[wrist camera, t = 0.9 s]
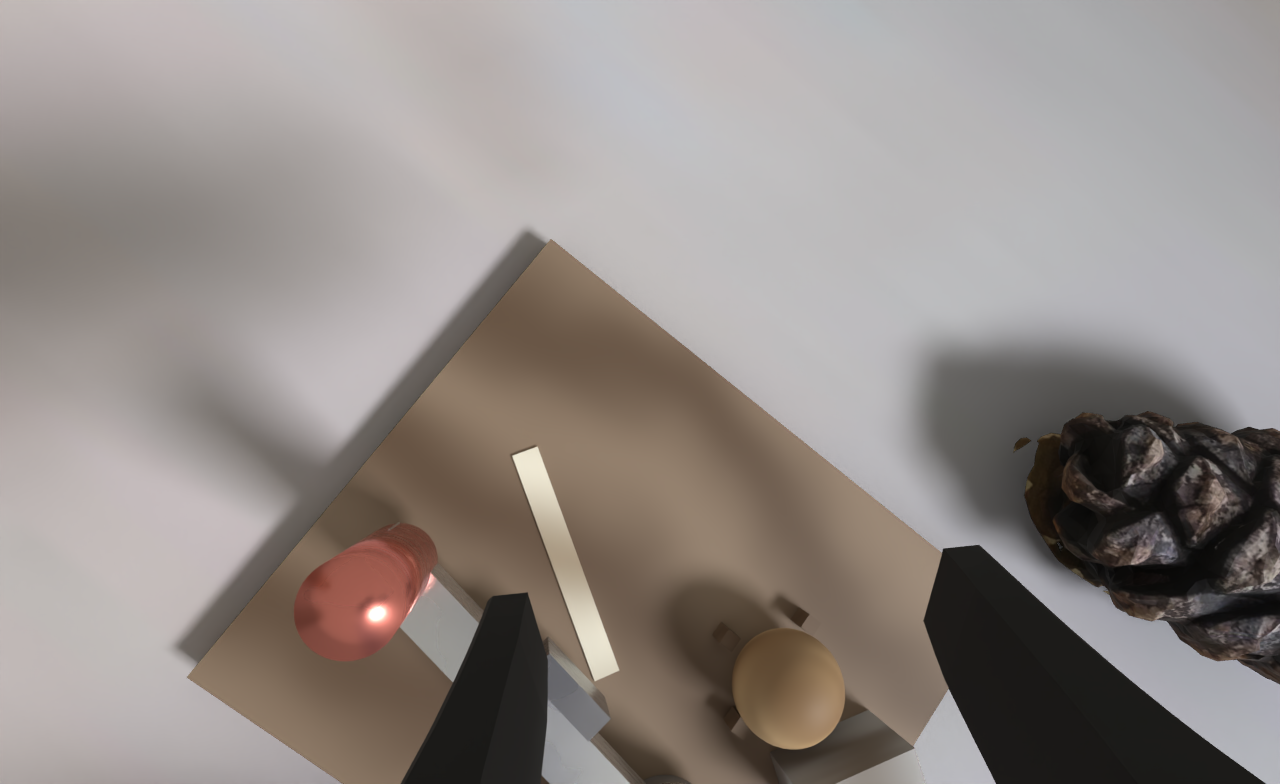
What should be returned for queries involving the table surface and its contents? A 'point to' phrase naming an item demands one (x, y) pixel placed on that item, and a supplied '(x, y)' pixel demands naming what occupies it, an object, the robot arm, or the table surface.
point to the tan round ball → (788, 688)
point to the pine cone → (1170, 526)
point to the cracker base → (608, 556)
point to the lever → (445, 640)
